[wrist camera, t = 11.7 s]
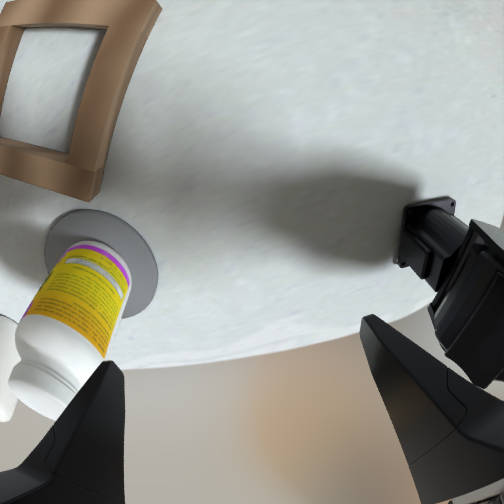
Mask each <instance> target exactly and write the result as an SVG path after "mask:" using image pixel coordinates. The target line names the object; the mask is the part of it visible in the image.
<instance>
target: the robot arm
mask: <svg viewBox="0 0 504 504" xmlns="http://www.w3.org/2000/svg"><path fill="white" fill-rule="evenodd" d="M455 206H456V201H455V200H454V199H452V198H447V199H441V200H435V201H429V202H423V203H417V204H411V205H407V206H406V207H405V208H404V212H403V223H402V231H401V238H400V246H399V256H398V262H397V263H398V266H399V267H400V268H405V267H408V266H410V267H411V268H412V269H413V271H414V272H415V273H416V274H417V275H418V276H419V278H421V279H425V280H426V281H427V283H428V284H429V285H430V286H431V287H432V289H433V290H434V291H435V292H437V294H436V296H435V298H434V300H433V301H432V303H430V305H429V307H428V312H429V314H430V317H431V320H432V323H433V326H434V329H435V335H436V337H437V339H438V341H439V343H440V345H441V347H442V349H443V350H444V351H445V356H446V357H447V358H449V359H451V360H452V361H454V362H455V363H456V364H457V365H458V366H459V367H460V368H462V370H463V371H464V372H465V373H466V374H467V376H468V377H469V379H470V380H471V382H472V383H473V384H472V383H470V382H469V381H467V380H466V379H464V378H463V377H461V376H460V375H458V374H457V373H455V372H454V371H453V370H451V369H450V368H447V366H446V365H444V364H443V363H441V362H440V361H439V360H437V359H436V358H435V357H433V356H432V355H431V354H429V353H428V352H426V351H425V350H424V349H422V348H421V347H419V346H418V345H417V344H415V343H414V342H412V341H411V340H410V339H408V338H407V337H405V336H404V335H402V334H401V333H400V332H398V331H397V330H396V329H394V328H393V327H391V326H390V325H389V324H387V323H386V322H384V321H383V320H381V319H380V318H379V317H377V316H376V315H374V314H371V315H367V316H364V317H363V318H362V321H361V327H360V338H361V341H362V344H363V348H364V351H365V354H366V357H367V360H368V364H369V367H370V370H371V373H372V376H373V378H374V380H375V383H376V385H377V388H378V390H379V392H380V394H381V397H382V399H383V402H384V404H385V406H386V409H387V411H388V413H389V416H390V419H391V421H392V424H393V426H394V429H395V431H396V433H397V436H398V439H399V441H400V444H401V446H402V449H403V452H404V454H405V457H406V460H407V463H408V465H409V469H410V471H411V474H412V477H413V480H414V483H415V486H416V489H417V492H418V494H419V498H420V501H421V504H436V503H440V502H443V501H446V500H450V499H452V500H451V501H449V503H448V504H504V401H502V400H500V399H498V398H496V397H495V396H492V395H491V394H489V393H487V392H486V391H484V390H482V389H485V388H487V387H488V385H489V384H491V382H492V381H493V380H496V381H502V382H504V232H503V231H502V230H500V229H499V228H498V227H496V226H493V225H490V224H487V223H484V222H481V221H477V220H474V219H471V221H470V223H469V226H467V225H466V224H465V223H463V222H462V221H461V220H459V219H458V218H457V217H455V216H454V212H455ZM409 210H410V212H408V211H409ZM477 386H478V387H477ZM479 387H480V388H479ZM481 388H482V389H481ZM124 392H125V391H124V375H123V372H122V371H121V370H120V369H119V368H118V366H117V365H116V364H115V363H114V362H113V361H111V360H109V361H102V362H101V363H100V365H99V366H98V367H97V368H96V370H95V371H94V372H93V373H92V375H91V376H90V377H89V378H88V380H87V381H86V382H85V384H84V385H83V386H82V387H81V389H80V390H79V391H78V393H77V394H76V395H75V396H74V398H73V399H72V400H71V402H70V403H69V404H68V406H67V407H66V408H65V410H64V411H63V412H62V414H61V415H60V416H59V418H58V419H57V420H56V422H55V423H54V425H53V426H52V427H51V428H50V430H49V431H48V432H47V434H46V435H45V436H44V438H43V439H42V440H41V442H40V443H39V444H38V445H37V446H36V448H35V449H34V450H33V451H32V452H31V453H30V454H29V456H28V457H27V458H26V459H25V460H24V461H23V462H22V464H20V465H19V466H18V467H16V468H14V469H11V470H7V471H3V472H0V504H125V494H124V427H125V426H124V425H125V395H124V394H125V393H124Z"/></svg>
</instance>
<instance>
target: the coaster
mask: <svg viewBox="0 0 504 504" xmlns="http://www.w3.org/2000/svg"><path fill="white" fill-rule="evenodd" d="M81 241H96V242H100V243H103V244H105V245H107V246H109V247H110V248H112V249H113V250H115V251H116V252H117V253H118V254H119V255H120V256H121V257H122V258H123V260H124V261H125V263H126V264H127V266H128V268H129V271H130V274H131V279H132V286H131V291H130V294H129V297H128V300H127V302H126V305H125V308H124V311H123V314H122V317H121V319H123V318H128V317H131V316H134V315H136V314H138V313H140V312H141V311H143V310H144V309H145V308H146V307H147V306H148V305H149V304H150V302H151V301H152V299H153V297H154V295H155V291H156V287H157V283H158V270H157V264H156V261H155V258H154V255H153V253H152V251H151V249H150V247H149V246H148V244H147V243H146V241H145V240H144V239H143V238H142V236H141V235H140V234H139V233H138V232H137V231H136V230H135V229H134V228H133V227H131V226H130V225H129V224H128V223H126V222H125V221H123V220H121V219H120V218H118V217H116V216H114V215H112V214H109V213H106V212H102V211H97V210H79V211H75V212H72V213H70V214H68V215H66V216H64V217H63V218H62V219H60V220H59V221H58V222H57V223H56V224H55V225H54V226H53V228H52V229H51V231H50V232H49V235H48V237H47V240H46V243H45V262H46V266H47V270H48V273H49V274H50V273H51V271H52V270H53V268H54V267H55V266H56V264H57V263H58V261H59V260H60V259H61V257H62V256H63V255H64V253H65V252H66V251H67V250H68V249H69V248H70V247H71V246H72V245H74V244H75V243H78V242H81Z"/></svg>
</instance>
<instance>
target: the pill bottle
mask: <svg viewBox="0 0 504 504" xmlns="http://www.w3.org/2000/svg"><path fill="white" fill-rule="evenodd" d="M17 326H18V324H17V323H15V322H14V321H12V320H11V319H9V318H7V317H4V316H0V421H1V422H7V421H9V420H10V419H11V417H12V415H13V412H14V409H15V406H16V403H17V400H18V398H17V397H16V396H15V394H14V393H13V392H12V391H11V389H10V388H9V385H8V380H9V377H10V375H11V372H12V370H13V367H14V366H15V365H17V363H18V362H20V361H21V358H20V356H19V354H18V351H17V348H16V344H15V331H16V328H17Z"/></svg>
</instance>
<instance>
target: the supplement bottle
mask: <svg viewBox="0 0 504 504" xmlns="http://www.w3.org/2000/svg"><path fill="white" fill-rule="evenodd" d="M131 286H132V279H131V274H130V271H129V268H128V266H127V264H126V263H125V261H124V260H123V258H122V257H121V256H120V255H119V254H118V253H117V252H116V251H115V250H113V249H112V248H110V247H109V246H107V245H105V244H103V243H100V242H96V241H81V242H78V243H75V244H74V245H72V246H71V247H70V248H69V249H68V250H67V251H66V252H65V253H64V255H63V256H62V257H61V259H60V260H59V261H58V263H57V264H56V266H55V267H54V268H53V270H52V271H51V273H50V274H49V276H48V277H47V279H46V280H45V282H44V283H43V285H42V286H41V287H40V289H39V291H38V292H37V294H36V295H35V297H34V299H33V300H32V302H31V303H30V305H29V307H28V308H27V310H26V312H25V313H24V315H23V317H22V318H21V320H20V322H19V324H18V326H17V328H16V331H15V344H16V348H17V351H18V354H19V356H20V358H21V361H20V362H18V363H17V365H15V366H14V367H13V370H12V372H11V375H10V377H9V380H8V385H9V388H10V389H11V391H12V392H13V393H14V394H15V396H16V397H17V398H18V399H20V400H21V401H22V402H23V403H24V404H26V405H27V406H28V407H30V408H31V409H33V410H35V411H36V412H38V413H40V414H41V415H43V416H46V417H48V418H50V419H53V420H55V421H56V420H57V419H58V418H59V416H60V415H61V414H62V412H63V411H64V410H65V408H66V407H67V406H68V404H69V403H70V402H71V400H72V399H73V398H74V396H75V395H76V394H77V393H78V391H79V390H80V389H81V387H82V386H83V385H84V384H85V382H86V381H87V380H88V378H89V377H90V376H91V375H92V373H93V372H94V371H95V370H96V368H97V367H98V366H99V365H100V363H101V362H102V361H108V360H109V357H110V353H111V350H112V346H113V343H114V339H115V336H116V333H117V330H118V327H119V323H120V320H121V317H122V314H123V311H124V308H125V305H126V302H127V300H128V297H129V294H130V291H131Z"/></svg>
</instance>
